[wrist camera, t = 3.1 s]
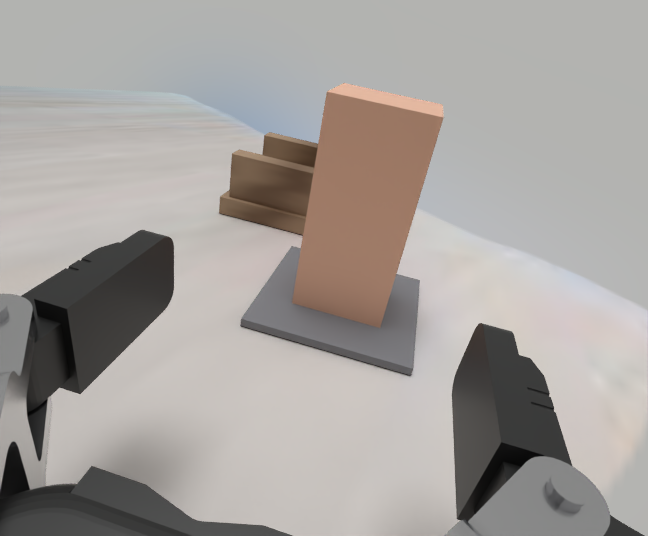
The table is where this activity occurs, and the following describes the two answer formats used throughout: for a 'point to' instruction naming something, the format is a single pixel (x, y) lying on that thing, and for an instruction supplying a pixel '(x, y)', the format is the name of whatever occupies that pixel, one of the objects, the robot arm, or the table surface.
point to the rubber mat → (338, 321)
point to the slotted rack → (272, 183)
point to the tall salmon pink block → (363, 199)
